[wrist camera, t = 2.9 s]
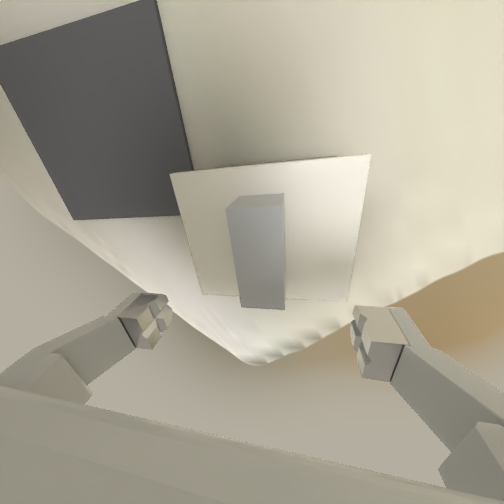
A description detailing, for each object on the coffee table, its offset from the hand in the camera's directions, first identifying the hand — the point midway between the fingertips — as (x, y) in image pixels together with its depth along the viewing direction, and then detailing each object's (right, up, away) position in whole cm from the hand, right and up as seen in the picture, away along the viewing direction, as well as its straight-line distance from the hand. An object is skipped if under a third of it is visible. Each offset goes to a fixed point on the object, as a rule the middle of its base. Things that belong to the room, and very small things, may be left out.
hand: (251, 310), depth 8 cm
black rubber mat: (-17, +15, +14) cm, 27 cm away
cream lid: (+1, +4, +8) cm, 9 cm away
